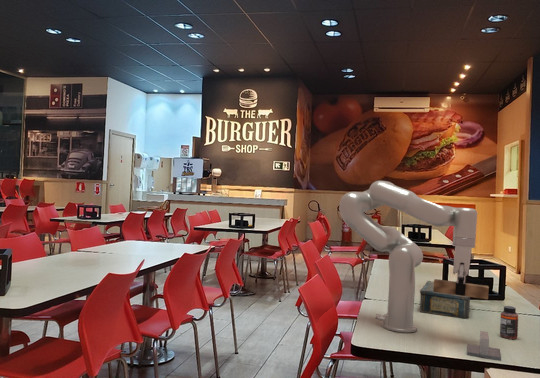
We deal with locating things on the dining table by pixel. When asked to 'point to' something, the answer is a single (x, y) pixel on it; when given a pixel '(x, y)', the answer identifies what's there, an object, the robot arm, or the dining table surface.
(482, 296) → the beam
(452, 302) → the metal box
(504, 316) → the supplement bottle
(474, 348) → the stand
